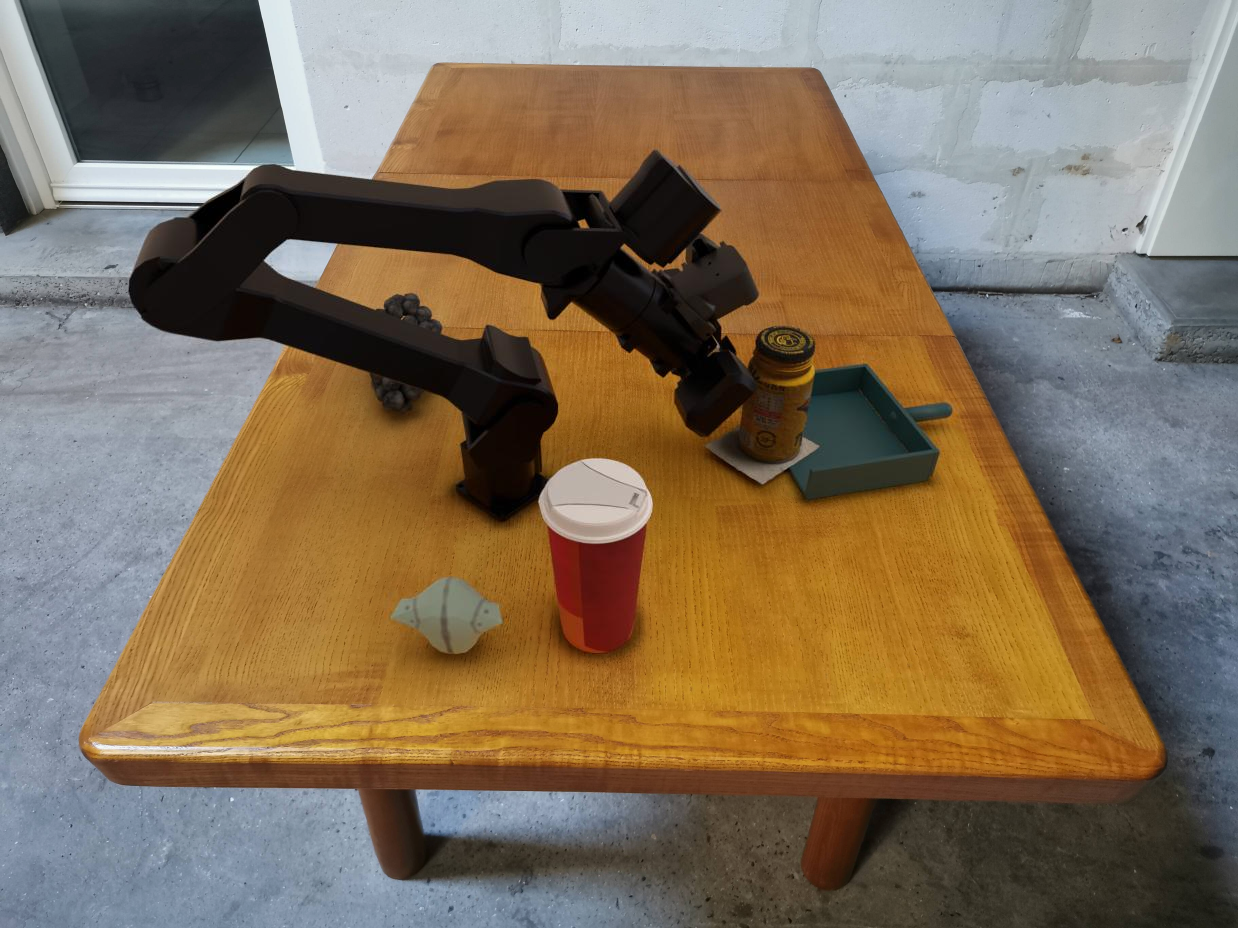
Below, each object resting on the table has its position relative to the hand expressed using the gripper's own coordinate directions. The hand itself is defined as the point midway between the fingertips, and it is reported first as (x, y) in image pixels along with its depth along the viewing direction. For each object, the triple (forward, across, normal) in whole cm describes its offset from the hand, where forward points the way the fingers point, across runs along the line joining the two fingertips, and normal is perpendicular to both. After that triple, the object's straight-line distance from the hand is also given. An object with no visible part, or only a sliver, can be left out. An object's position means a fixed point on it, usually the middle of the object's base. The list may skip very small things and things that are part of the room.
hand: (747, 393), depth 80 cm
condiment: (+6, 0, +4) cm, 7 cm away
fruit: (-17, +19, +27) cm, 37 cm away
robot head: (-16, -17, +25) cm, 34 cm away
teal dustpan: (+14, 0, -4) cm, 15 cm away
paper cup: (-8, -17, +18) cm, 26 cm away
